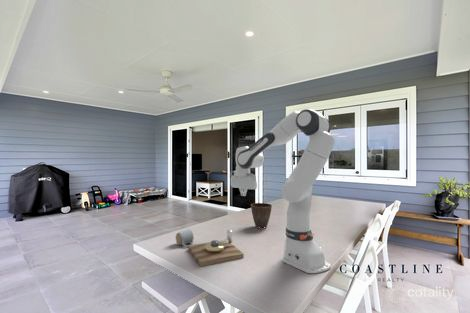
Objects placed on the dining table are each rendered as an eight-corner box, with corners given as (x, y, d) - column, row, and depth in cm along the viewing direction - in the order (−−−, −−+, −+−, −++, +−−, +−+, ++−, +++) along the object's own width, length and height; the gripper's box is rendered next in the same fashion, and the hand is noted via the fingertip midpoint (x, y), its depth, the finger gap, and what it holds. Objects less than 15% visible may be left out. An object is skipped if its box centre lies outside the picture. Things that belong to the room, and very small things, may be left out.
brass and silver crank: (237, 247, 118) (237, 232, 118) (210, 254, 110) (210, 238, 110) (227, 241, 126) (227, 228, 127) (201, 247, 118) (201, 232, 118)
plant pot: (271, 224, 169) (271, 203, 169) (272, 230, 154) (272, 207, 154) (251, 224, 170) (251, 202, 171) (250, 230, 156) (250, 206, 156)
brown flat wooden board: (243, 257, 111) (243, 252, 111) (200, 266, 102) (200, 261, 102) (226, 243, 131) (226, 239, 131) (188, 249, 122) (188, 245, 122)
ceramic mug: (174, 243, 130) (175, 230, 130) (187, 240, 136) (187, 227, 136) (183, 249, 122) (183, 235, 122) (196, 245, 127) (196, 232, 127)
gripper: (259, 173, 132) (259, 196, 132) (236, 172, 148) (236, 193, 147) (251, 173, 128) (251, 198, 128) (228, 172, 144) (228, 194, 143)
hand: (243, 195), depth 138 cm, fingers closed
